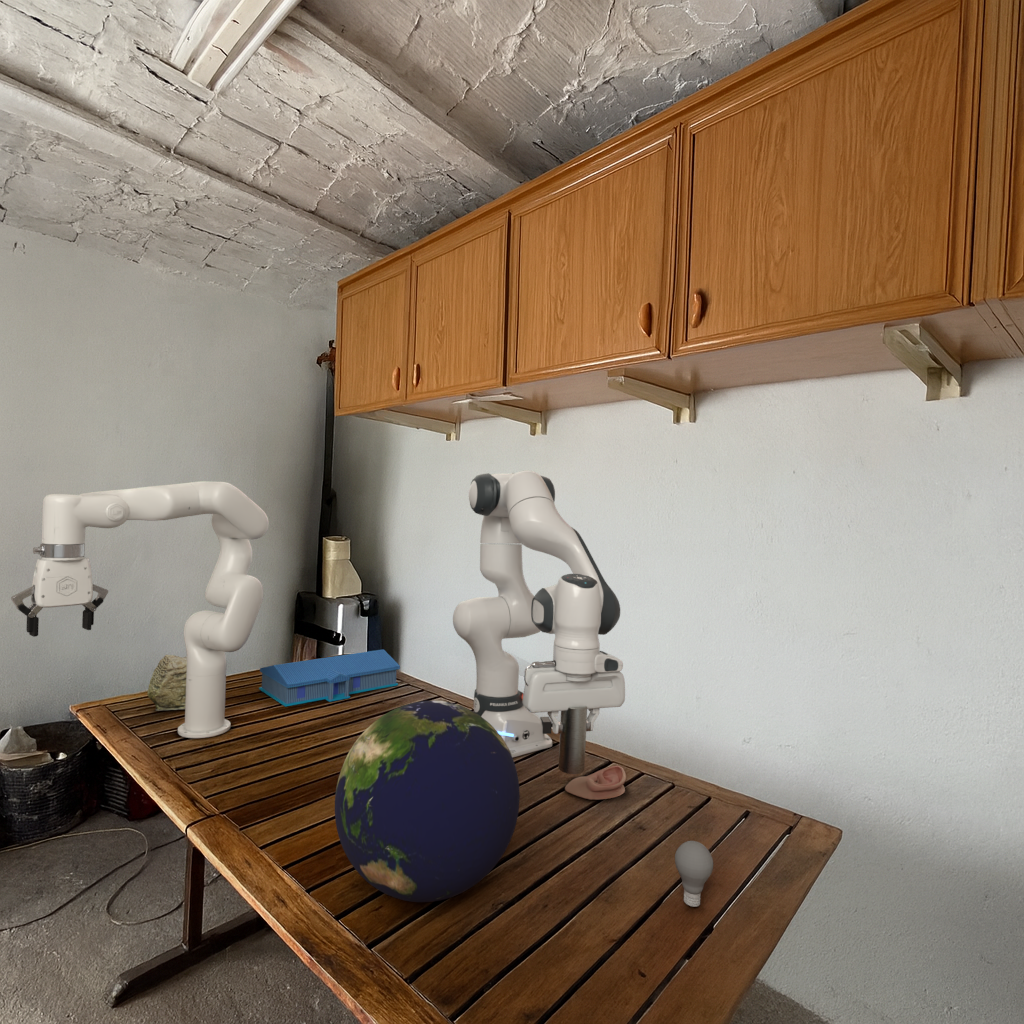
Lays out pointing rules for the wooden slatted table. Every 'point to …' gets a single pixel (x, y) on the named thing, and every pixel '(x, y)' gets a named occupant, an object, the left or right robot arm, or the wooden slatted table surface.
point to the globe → (427, 801)
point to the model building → (329, 677)
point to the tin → (573, 740)
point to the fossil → (169, 683)
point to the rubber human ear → (599, 784)
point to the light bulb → (693, 869)
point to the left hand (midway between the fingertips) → (60, 632)
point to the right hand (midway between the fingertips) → (572, 731)
